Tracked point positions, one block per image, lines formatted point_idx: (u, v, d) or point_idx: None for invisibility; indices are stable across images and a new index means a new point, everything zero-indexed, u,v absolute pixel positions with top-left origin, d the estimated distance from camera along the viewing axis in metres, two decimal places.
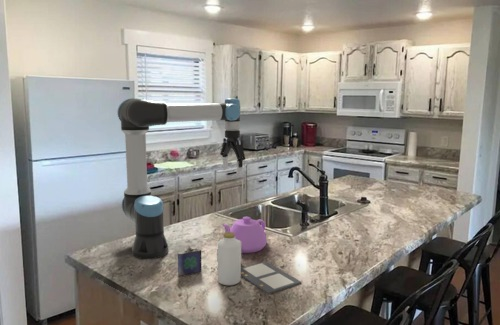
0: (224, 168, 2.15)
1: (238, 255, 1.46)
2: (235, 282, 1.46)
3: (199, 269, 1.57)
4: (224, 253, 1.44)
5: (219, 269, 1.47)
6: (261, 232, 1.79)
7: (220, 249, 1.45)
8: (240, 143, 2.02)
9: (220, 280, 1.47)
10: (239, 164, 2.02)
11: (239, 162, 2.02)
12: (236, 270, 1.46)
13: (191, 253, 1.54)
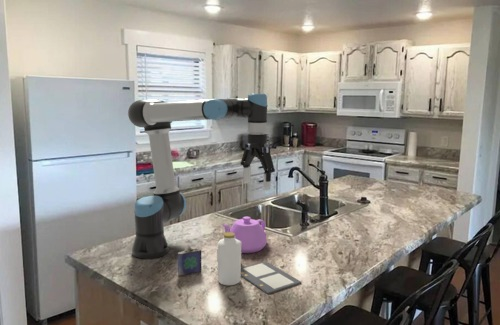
0: (246, 182, 1.70)
1: (238, 255, 1.46)
2: (235, 282, 1.46)
3: (199, 269, 1.57)
4: (224, 253, 1.44)
5: (219, 269, 1.47)
6: (261, 232, 1.79)
7: (220, 249, 1.45)
8: (268, 151, 1.58)
9: (220, 280, 1.47)
10: (267, 177, 1.58)
11: (267, 175, 1.58)
12: (236, 270, 1.46)
13: (191, 253, 1.54)
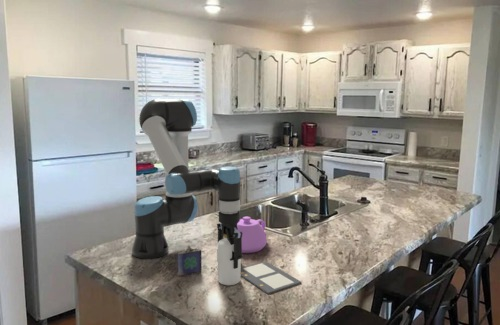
0: None
1: None
2: (235, 282, 1.47)
3: (199, 269, 1.57)
4: (224, 253, 1.44)
5: (219, 269, 1.47)
6: (261, 232, 1.79)
7: (220, 249, 1.45)
8: (239, 236, 1.42)
9: (220, 280, 1.47)
10: None
11: None
12: (236, 270, 1.46)
13: (191, 253, 1.54)
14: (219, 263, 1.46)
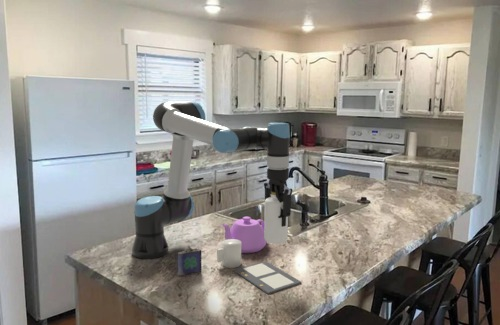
0: None
1: None
2: (283, 240, 1.44)
3: (199, 269, 1.57)
4: (273, 210, 1.41)
5: (267, 227, 1.44)
6: (261, 232, 1.79)
7: (268, 206, 1.42)
8: (289, 193, 1.39)
9: (267, 238, 1.44)
10: None
11: None
12: (284, 228, 1.43)
13: (191, 253, 1.54)
14: (267, 221, 1.44)
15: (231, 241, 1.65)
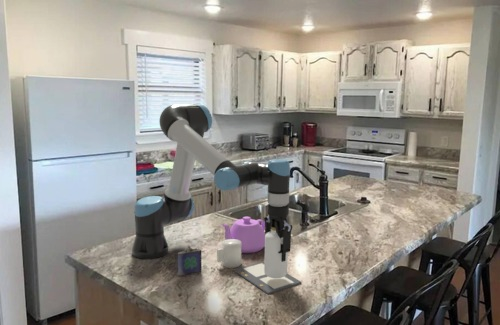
0: None
1: None
2: (283, 275, 1.46)
3: (199, 269, 1.57)
4: (273, 246, 1.44)
5: (267, 262, 1.46)
6: (261, 232, 1.79)
7: (268, 242, 1.44)
8: (289, 230, 1.41)
9: (268, 273, 1.46)
10: None
11: None
12: (284, 263, 1.46)
13: (191, 253, 1.54)
14: (267, 256, 1.46)
15: (231, 241, 1.65)
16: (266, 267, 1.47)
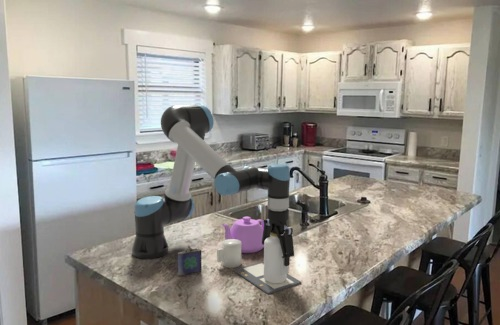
0: None
1: None
2: (282, 280, 1.47)
3: (199, 269, 1.57)
4: (272, 251, 1.44)
5: (266, 267, 1.47)
6: (261, 232, 1.79)
7: (268, 247, 1.45)
8: (290, 233, 1.41)
9: (267, 278, 1.47)
10: (285, 262, 1.43)
11: (285, 259, 1.43)
12: None
13: (191, 253, 1.54)
14: (266, 261, 1.47)
15: (231, 241, 1.65)
16: (266, 272, 1.47)
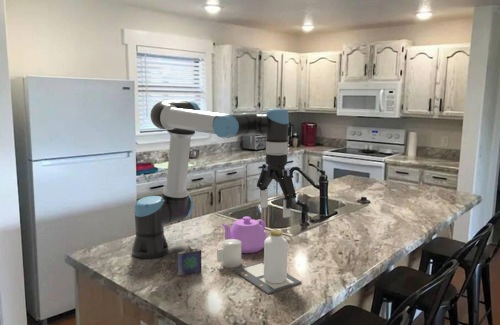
0: (262, 206, 1.53)
1: (285, 253, 1.46)
2: (282, 280, 1.47)
3: (199, 269, 1.57)
4: (272, 251, 1.44)
5: (266, 267, 1.47)
6: (261, 232, 1.79)
7: (268, 247, 1.45)
8: (289, 174, 1.40)
9: (267, 278, 1.47)
10: (287, 204, 1.40)
11: (287, 201, 1.40)
12: (283, 268, 1.46)
13: (191, 253, 1.54)
14: (266, 261, 1.47)
15: (231, 241, 1.65)
16: (266, 272, 1.47)
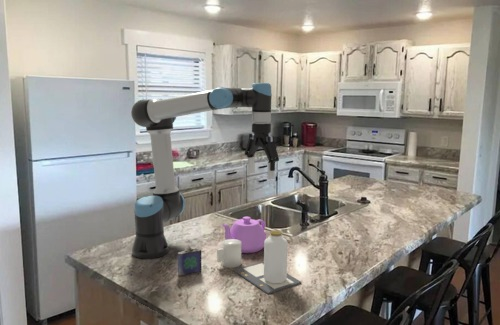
0: (250, 171, 1.71)
1: (285, 253, 1.46)
2: (282, 280, 1.47)
3: (199, 269, 1.57)
4: (272, 251, 1.44)
5: (266, 267, 1.47)
6: (261, 232, 1.79)
7: (268, 247, 1.45)
8: (272, 140, 1.58)
9: (267, 278, 1.47)
10: (271, 167, 1.59)
11: (271, 164, 1.58)
12: (283, 268, 1.46)
13: (191, 253, 1.54)
14: (266, 261, 1.47)
15: (231, 241, 1.65)
16: (266, 272, 1.47)
